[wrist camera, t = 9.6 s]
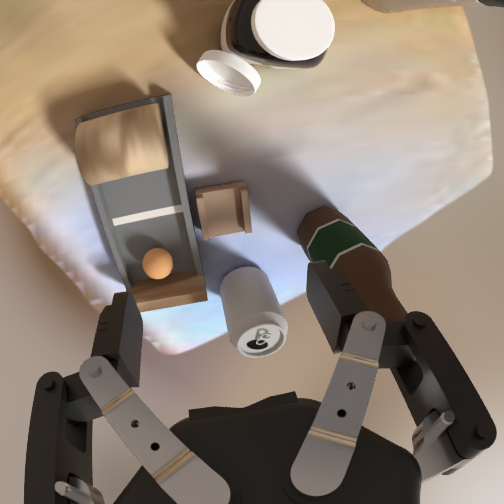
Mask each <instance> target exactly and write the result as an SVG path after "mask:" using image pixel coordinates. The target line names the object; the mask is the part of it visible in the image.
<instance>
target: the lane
mask: <svg viewBox="0 0 504 504" xmlns="http://www.w3.org/2000/svg"><path fill="white" fill-rule="evenodd" d="M155 103H158V104H159V106H160V110H161V114H162V118H163V123H164V129H165V135H166V142H167V150H168V163H169V164H168V168H166V169H161V170H157V171H152V172H147V173H143V174H138V175H134V176H129V177H125V178H121V179H117V180H113V181H109V182H105V183H101V184H97V185H93V186H91V189H92V192H93V195H94V199H95V202H96V205H97V209H98V212H99V215H100V218H101V221H102V224H103V227H104V230H105V233H106V236H107V239H108V242H109V245H110V248H111V251H112V253H113V256H114V259H115V261H116V264H117V267H118V269H119V272H120V275H121V277H122V280H123V282H124V285H125V287H126V289H130V288H132V283H133V281H137V280H142V279H148V278H151V277H149V276H148V275H147V274H146V273H145V271H144V269H143V264H142V263H143V258H144V256H145V254H146V253H147V252H148V251H149V250H151V249H153V248H162V249H165V250H166V251H168V252H169V253H170V255H171V257H172V259H173V268H172V271H171V272H170V274H175V273H180V272H186V271H191V270H196V272H197V276H201V275H203V269H202V263H201V258H200V254H199V249H198V244H197V239H196V234H195V229H194V224H193V219H192V214H191V209H190V204H189V199H188V193H187V188H186V182H185V177H184V171H183V166H182V160H181V154H180V148H179V142H178V136H177V130H176V123H175V117H174V110H173V103H172V96H171V94H169V95H164V96H159V97H154V98H149V99H145V100H140V101H136V102H132V103H128V104H124V105H120V106H116V107H112V108H109V109H105V110H102V111H98V112H95V113H91V114H88V115H85V116H82V117H79V118H77V119H75V124H76V129H77V126H78V125H79V124H80V123H82V122H85V121H88V120H92V119H95V118H99V117H102V116H106V115H109V114H113V113H117V112H120V111H124V110H128V109H132V108H137V107H141V106H145V105H150V104H155Z"/></svg>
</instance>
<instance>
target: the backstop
mask: <svg viewBox="0 0 504 504" xmlns="http://www.w3.org/2000/svg"><path fill="white" fill-rule="evenodd" d="M202 269H203V268H202ZM127 291H131V292H132V294H133V296H134V299H135V302H136V304H137V307H138V309H139V312H145V311H151V310H157V309H163V308H168V307H174V306H180V305H185V304H191V303H196V302H202V301H207V300H208V299H207V292H206V285H205V278H204V272H203V275H201V276H197V272H196V270H191V271H186V272H180V273H175V274H169V275H168V276H166V277H165V278H162V279H153V278H148V279H142V280H137V281H133V283H132V288H130V289H126V292H127Z"/></svg>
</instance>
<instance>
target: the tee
mask: <svg viewBox="0 0 504 504" xmlns="http://www.w3.org/2000/svg"><path fill="white" fill-rule="evenodd" d="M195 194H196V201H197V206H198V212H199V217H200V223H201V228H202V233H203V239H204V241H207V240H210V237H214V236H220V235H225V234H231V233H236V232H242V231H245V233H251V232H252V227H251V217H250V207H249V197H248V190H247V188H246V185H245V183H244V181H236V182H230V183H224V184H218V185H212V186H207V187H201V188H195Z"/></svg>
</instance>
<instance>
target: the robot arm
mask: <svg viewBox="0 0 504 504" xmlns="http://www.w3.org/2000/svg"><path fill="white" fill-rule="evenodd" d="M362 1H363V2H364V3H365V4H367V5H368V6H369V7H371V8H373V9H375V10H377V11H380V12H383V13H392V12H402V11H407V10H416V9H426V8H438V7H456V6H498V7H504V0H362ZM306 291H307V297H308V301H309V303H310V305H311V307H312V309H313V311H314V313H315V315H316V317H317V320H318V322H319V324H320V326H321V328H322V330H323V332H324V334H325V336H326V338H327V340H328V343H329V345H330V347H331V349H332V351H333V353H334V354H336V353H340V352H342V354H340V357H339V360H338V362H337V365H336V368H335V370H334V373H333V375H332V378H331V381H330V383H329V386H328V388H327V391H326V393H325V396H324V398H323V401H322V403H321V402H319V401H316V400H312V399H305V398H297V396H296V393H295V391H294V392H290V393H285V394H281V395H276V396H271V397H268V398H266V399H263V400H261V401H259V402H257V403H254V404H252V405H250V406H247V407H244V408H231V407H216V406H214V407H207V408H200V409H191V410H189V417H188V418H185V419H183V420H181V421H179V422H178V423H176V424H175V425H173V426H172V427H171V428H170V429H168V428H167V427H166V426H165V425H164V424H163V423H162V422H161V421H160V420H159V419H158V418H157V417H156V416H155V415H154V413H153V412H152V411H151V410H150V409H149V408H148V407H147V406H146V405H145V403H144V402H143V401H142V400H141V399H140V398H139V397H138V395H137V394H136V393H135V392H134V391H133V390H131V387H139V379H140V361H141V347H142V335H143V321H142V317H141V314H140V312H139V309H138V307H137V304H136V302H135V299H134V296H133V294H132V292H131V291H127V292H120V293H115V294H114V297H113V301H112V305H108V306H106V307H105V308H104V310H103V311H102V312H101V314H100V317H99V321H98V325H97V330H96V331H97V332H96V334H95V339H94V343H93V348H92V353H91V358H89V359H87V360H86V361H85V362H84V363H83V364H82V365H81V367H80V370H79V372H77V373H75V374H72V375H69V376H67V377H64V378H62V376H61V375H60V374H59V373H57V372H48V373H46V374H44V375H43V376H42V377H41V378H40V379H39V381H38V382H37V385H36V390H35V395H34V401H33V407H32V413H31V419H30V426H29V434H28V443H27V452H26V464H25V483H24V504H105V502H104V498H103V495H102V494H101V492H100V491H99V490H98V489H97V488H95V487H93V481H92V480H93V479H92V423H93V422H92V421H93V419H96V418H99V417H101V416H104V417H105V418H106V419H107V421H108V422H109V424H110V425H111V427H112V428H113V429H114V431H115V432H116V433H117V435H118V436H119V437H120V438H121V440H122V441H123V442H124V444H125V445H126V446H127V447H128V448H129V450H130V451H131V452H132V453H133V455H134V456H135V457H136V458H137V459H138V461H139V462H140V463H141V464H142V466H141V467H140V469H139V470H138V471H137V473H136V474H135V475H134V477H133V478H132V479H131V481H130V482H129V483H128V485H127V486H126V488H125V489H124V490H123V491H122V493H121V494H120V495H119V497H118V498H117V499H116V501H115V502H114V503H113V504H420V489H421V483H423V482H426V481H428V480H430V479H432V478H434V477H436V476H438V475H440V474H442V475H449V474H452V473H454V472H455V471H457V470H458V469H460V468H461V467H463V466H464V465H466V464H467V463H468V462H470V461H471V460H473V459H474V458H476V457H477V456H478V455H480V454H481V453H482V452H484V451H485V450H486V449H488V448H489V447H490V446H491V445H492V444H493V443H494V441H495V439H496V434H497V431H496V426H495V424H494V422H493V420H492V418H491V417H490V414H489V412H488V410H487V409H486V407H485V405H484V403H483V401H482V399H481V398H480V396H479V394H478V392H477V391H476V389H475V387H474V386H473V384H472V382H471V381H470V379H469V377H468V375H467V374H466V372H465V370H464V368H463V367H462V365H461V364H460V362H459V360H458V359H457V357H456V355H455V354H454V352H453V351H452V349H451V348H450V346H449V344H448V343H447V341H446V340H445V338H444V337H443V335H442V334H441V332H440V331H439V329H438V328H437V326H436V325H435V323H434V322H433V321H432V319H431V318H430V317H429V316H428V315H427V314H425V313H422V312H418V311H414V312H410V313H408V314H407V315H406V316H405V318H404V320H403V321H386V320H384V318H383V317H382V316H381V315H379V314H378V313H375V312H372V311H369V309H368V308H367V306H366V305H365V303H364V301H363V300H362V298H361V297H360V295H359V294H358V292H357V291H356V290H355V288H354V286H353V285H352V284H351V282H350V281H349V279H348V278H347V276H346V275H345V274H344V273H342V272H341V271H339V270H338V269H334V270H331V268H330V267H329V265H328V264H327V262H326V261H325V260H322V261H317V262H311V263H309V264H308V270H307V287H306ZM378 368H390V370H391V371H392V374H393V376H394V378H395V380H396V382H397V384H398V386H399V389H400V391H401V392H402V395H403V397H404V399H405V401H406V404H407V406H408V408H409V410H410V412H411V415H412V417H413V419H414V421H415V424H416V426H417V428H416V429H415V431H414V433H413V436H412V442H413V448H414V450H413V455H412V454H411V453H410V452H409V451H407V450H406V449H404V448H402V447H400V446H398V445H396V444H394V443H392V442H390V441H389V440H387V439H385V438H383V437H381V436H379V435H378V434H376V433H374V432H372V431H370V430H369V429H367V428H365V427H363V426H362V422H363V420H364V416H365V413H366V410H367V406H368V403H369V399H370V396H371V392H372V389H373V385H374V382H375V377H376V374H377V370H378Z"/></svg>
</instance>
